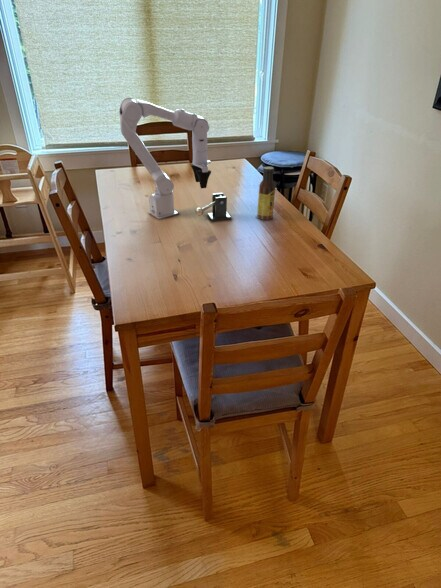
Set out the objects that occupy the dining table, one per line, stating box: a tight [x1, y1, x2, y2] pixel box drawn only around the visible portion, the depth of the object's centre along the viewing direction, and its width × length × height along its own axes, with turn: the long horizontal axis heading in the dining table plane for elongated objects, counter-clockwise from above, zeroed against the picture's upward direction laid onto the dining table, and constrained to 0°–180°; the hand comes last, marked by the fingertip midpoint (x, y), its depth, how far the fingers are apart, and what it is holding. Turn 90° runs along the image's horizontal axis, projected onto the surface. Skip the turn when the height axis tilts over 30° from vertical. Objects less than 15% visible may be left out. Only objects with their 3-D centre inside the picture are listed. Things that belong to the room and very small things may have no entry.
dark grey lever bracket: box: [207, 192, 232, 223], centre depth 160 cm, size 8×6×9 cm
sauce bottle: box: [257, 166, 276, 221], centre depth 157 cm, size 7×6×20 cm
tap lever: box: [195, 195, 222, 217], centre depth 158 cm, size 12×3×3 cm, turn 107°
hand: (200, 184), depth 164 cm, fingers open, 7 cm apart
